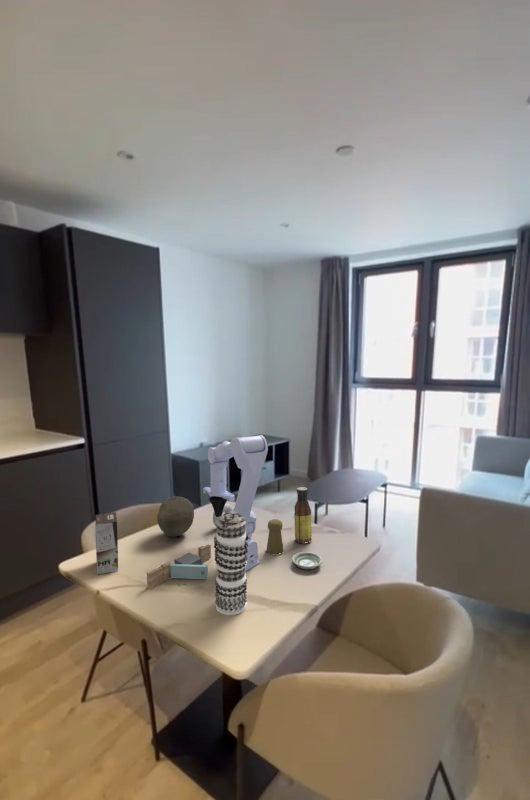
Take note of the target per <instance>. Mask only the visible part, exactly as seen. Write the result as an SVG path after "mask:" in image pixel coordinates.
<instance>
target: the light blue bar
mask: <svg viewBox="0 0 530 800" xmlns="http://www.w3.org/2000/svg"><path fill="white" fill-rule="evenodd" d="M167 564H168V568H169V579H193V580H194V579H195V580H208V578H209V577H208V576H209V575H208V574H209V573H208V572H209V565H208V564H202V565H188V564H174V563H167Z"/></svg>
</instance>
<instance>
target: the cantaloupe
mask: <svg viewBox="0 0 530 800" xmlns="http://www.w3.org/2000/svg"><path fill="white" fill-rule="evenodd" d="M194 519H195V508H194V506H193V503H192V502H191V501H190V500H189V499H187V498H185V497H182V496H171V497H169V498H167V499H165V500H164V501H162V503H161V505H160V507H159V509H158V513H157V517H156V521H157V525H158V527H159V529H160V530H161V532H162V533H163V534H164V535H166V536H168V537H179V536H182V535H183V534H185V533H186V532H187V531H188V530H189V529H190V528H191V526H192V525H193V522H194Z"/></svg>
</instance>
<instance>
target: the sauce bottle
mask: <svg viewBox="0 0 530 800" xmlns="http://www.w3.org/2000/svg"><path fill="white" fill-rule="evenodd" d="M308 492H309V489H308V487H306V486H301V487H300V486H299V487H297V488H296V494H297V496H296V497H297V499H296V503H295V504H294V513H293V514H294V516H293V517H294V538H295V542H297V541H298V542H297V543H299V542H301V543H300V544H302V543H305V542H309V541H311V542H312V535H313V534H312V533H313V531H312V528H313V527H312V509H311V507H310V503H309V501H308V500H309V499H308ZM309 543H310V542H309Z"/></svg>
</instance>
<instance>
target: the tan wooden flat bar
mask: <svg viewBox="0 0 530 800" xmlns="http://www.w3.org/2000/svg"><path fill="white" fill-rule="evenodd" d="M197 547H198V546H197ZM211 548H212V545H211V544H210V543H208V544H205V545H204V546H203V545H200V546H199V547H198V548H197V549H198V551H197V552H198V553H197V556H198V557H200V558H202V564H203V563H205V562H206V561H207V560H209V559H211V558H212V553H211V552H212V551H211ZM168 564H169V563H166V562H164V563H162V564H161V565H160V566H159V567H157V568H155V569H152V570H150V571H148V572H146V589H148V590H151V589H153V588H156V587H157V586H158V585H159V586H160V585H161V584H162V583H165V582H167V581H168V582H169V579H170V578H169V568H168Z"/></svg>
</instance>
